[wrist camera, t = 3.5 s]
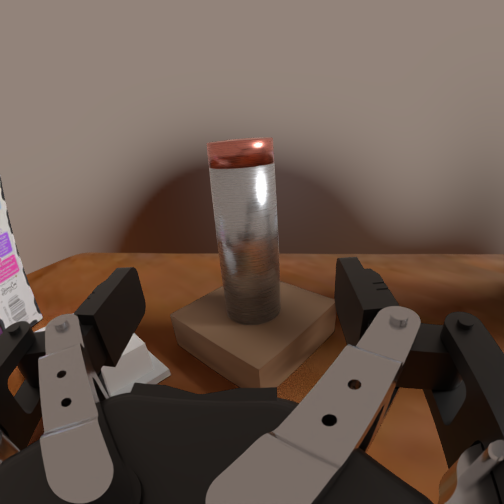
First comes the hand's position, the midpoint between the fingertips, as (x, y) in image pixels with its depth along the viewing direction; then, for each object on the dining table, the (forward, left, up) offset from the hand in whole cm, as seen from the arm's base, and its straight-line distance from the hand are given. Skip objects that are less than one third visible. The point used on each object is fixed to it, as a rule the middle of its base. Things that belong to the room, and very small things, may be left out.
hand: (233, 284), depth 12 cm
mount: (-7, -6, -10) cm, 13 cm away
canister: (-7, -6, -7) cm, 11 cm away
